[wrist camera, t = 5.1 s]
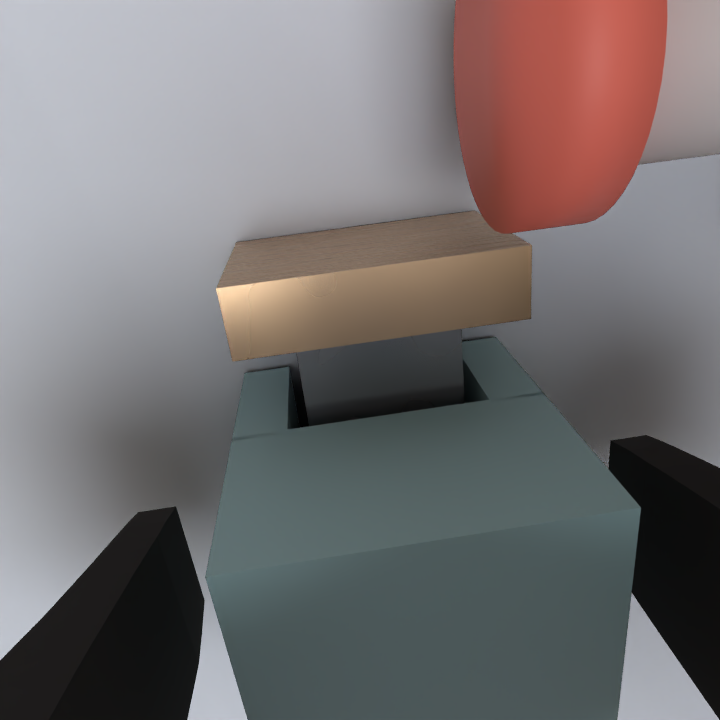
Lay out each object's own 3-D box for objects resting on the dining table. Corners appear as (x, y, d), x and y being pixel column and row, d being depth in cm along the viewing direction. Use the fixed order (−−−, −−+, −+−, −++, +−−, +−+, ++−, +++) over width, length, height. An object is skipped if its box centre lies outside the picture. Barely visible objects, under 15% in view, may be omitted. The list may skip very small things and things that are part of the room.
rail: (474, 210, 10) (532, 244, 7) (492, 804, 17) (523, 919, 14) (236, 242, 10) (216, 288, 7) (355, 829, 17) (364, 950, 14)
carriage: (495, 337, 11) (641, 508, 6) (499, 547, 13) (609, 789, 8) (244, 373, 10) (205, 577, 6) (289, 581, 12) (286, 847, 8)
